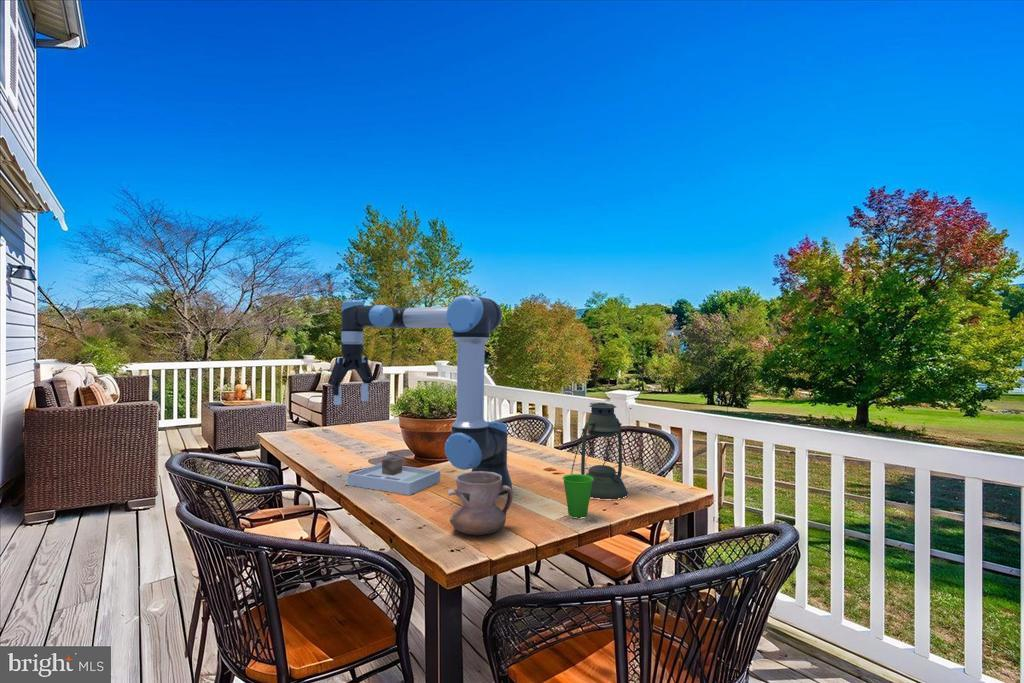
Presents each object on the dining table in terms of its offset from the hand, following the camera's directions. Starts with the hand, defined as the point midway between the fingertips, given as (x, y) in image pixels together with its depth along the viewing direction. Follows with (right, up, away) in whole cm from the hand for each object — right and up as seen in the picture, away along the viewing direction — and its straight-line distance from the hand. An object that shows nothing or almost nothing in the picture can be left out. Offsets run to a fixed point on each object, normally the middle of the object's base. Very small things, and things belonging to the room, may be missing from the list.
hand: (351, 402), depth 179 cm
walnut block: (+14, -26, +2) cm, 29 cm away
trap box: (+16, -28, -3) cm, 33 cm away
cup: (+77, -29, -35) cm, 89 cm away
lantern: (+88, -29, -11) cm, 93 cm away
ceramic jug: (+49, -28, -46) cm, 73 cm away
